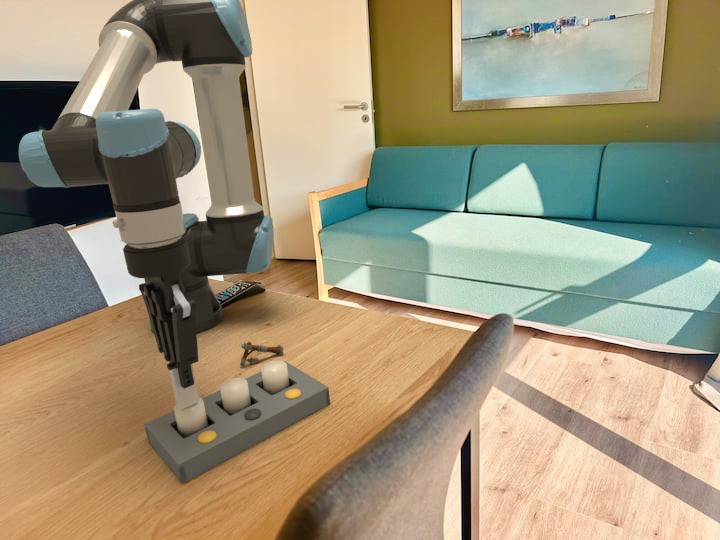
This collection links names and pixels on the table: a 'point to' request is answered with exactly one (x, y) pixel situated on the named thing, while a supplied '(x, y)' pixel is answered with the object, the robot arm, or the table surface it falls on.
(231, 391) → the button
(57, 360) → the table surface
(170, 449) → the console
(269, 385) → the button
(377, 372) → the table surface
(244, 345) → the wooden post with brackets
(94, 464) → the table surface
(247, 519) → the table surface
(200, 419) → the button
